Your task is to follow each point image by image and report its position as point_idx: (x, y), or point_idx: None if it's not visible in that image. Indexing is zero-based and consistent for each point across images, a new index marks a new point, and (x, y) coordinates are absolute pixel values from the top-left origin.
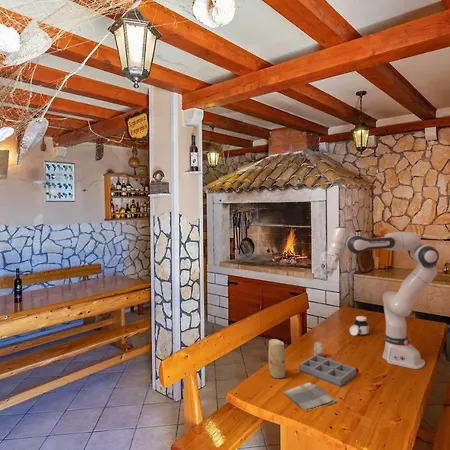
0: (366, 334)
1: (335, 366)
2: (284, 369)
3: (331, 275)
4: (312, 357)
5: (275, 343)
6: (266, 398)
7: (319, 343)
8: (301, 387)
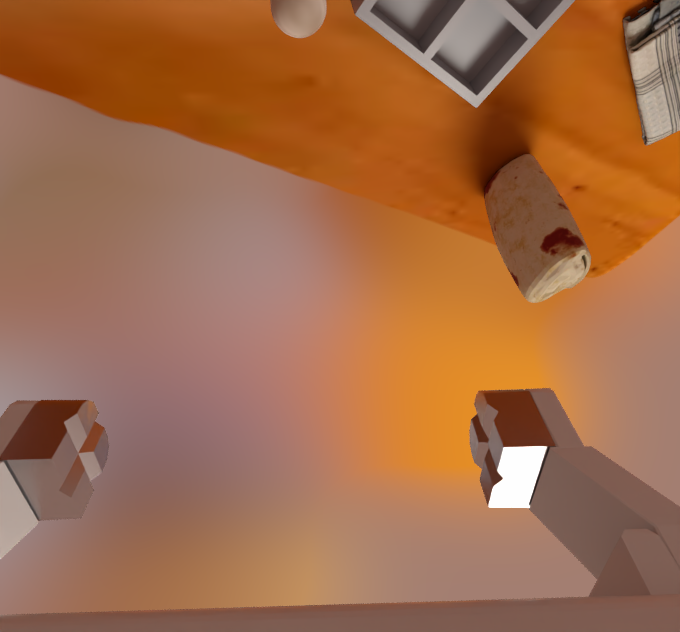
0: None
1: None
2: (542, 170)
3: (557, 408)
4: (394, 35)
5: (576, 279)
6: (652, 192)
7: (314, 6)
8: (658, 86)
